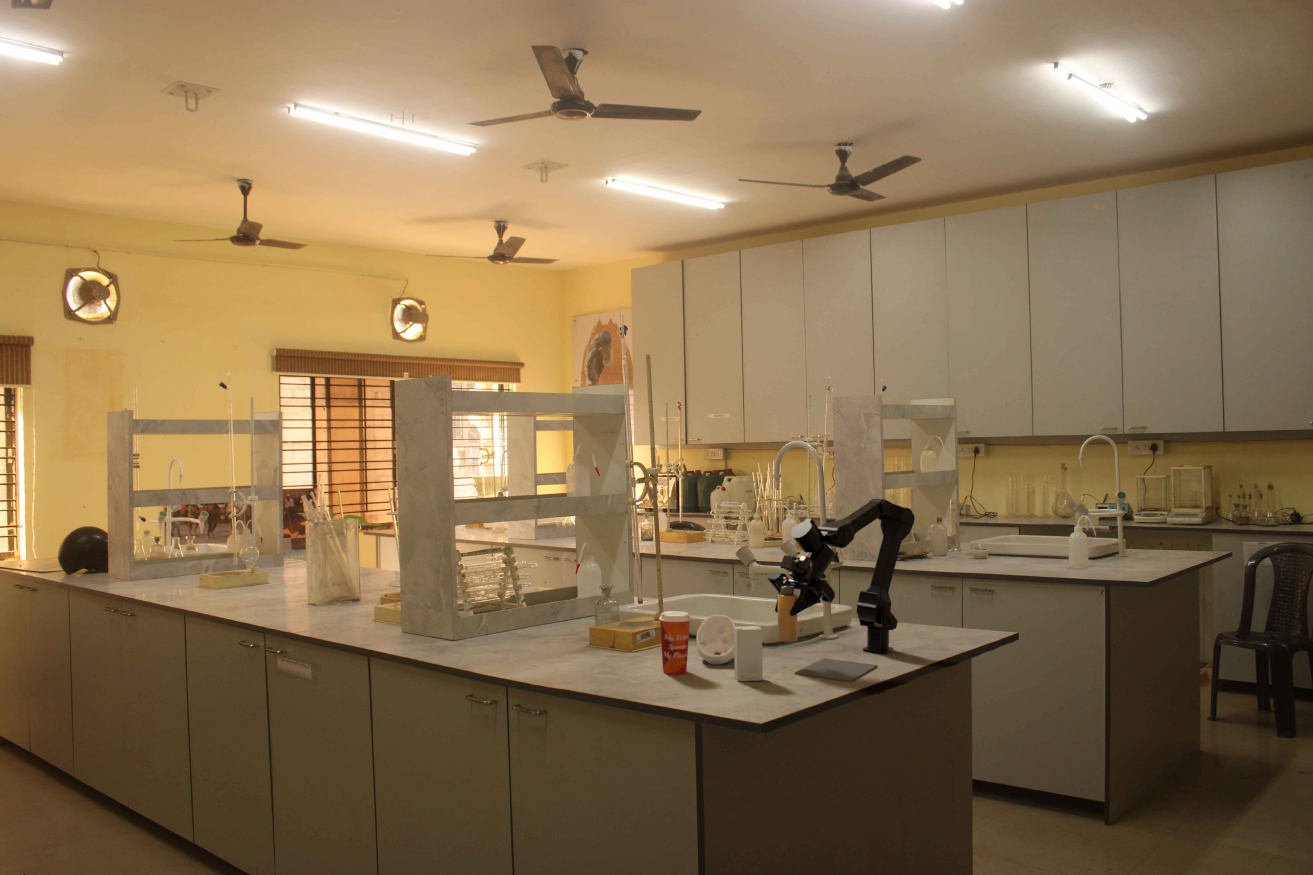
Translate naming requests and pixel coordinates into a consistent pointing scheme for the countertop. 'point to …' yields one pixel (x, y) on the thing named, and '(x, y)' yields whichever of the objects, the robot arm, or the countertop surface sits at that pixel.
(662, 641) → the paper cup
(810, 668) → the rubber mat
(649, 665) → the countertop surface
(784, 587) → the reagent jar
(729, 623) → the skull bowl
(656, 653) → the countertop surface
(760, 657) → the skincare box
